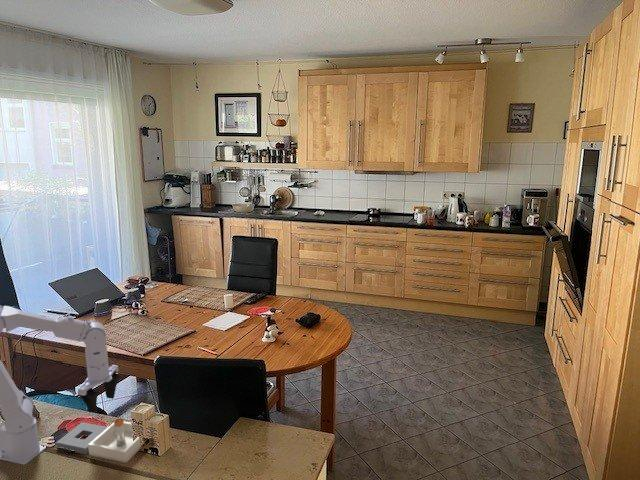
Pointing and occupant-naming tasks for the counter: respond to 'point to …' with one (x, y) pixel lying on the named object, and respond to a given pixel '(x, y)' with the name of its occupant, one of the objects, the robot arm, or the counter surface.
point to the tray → (114, 445)
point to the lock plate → (73, 436)
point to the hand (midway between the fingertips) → (101, 404)
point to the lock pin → (119, 432)
